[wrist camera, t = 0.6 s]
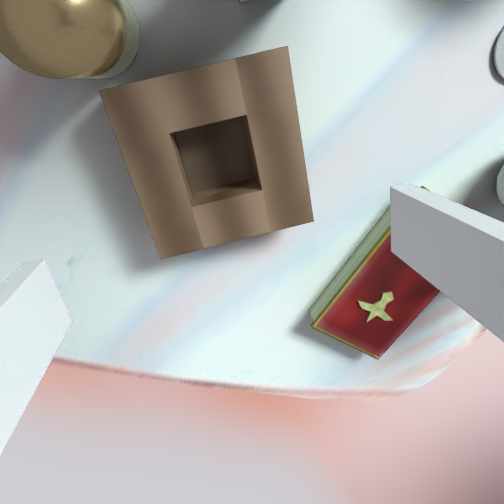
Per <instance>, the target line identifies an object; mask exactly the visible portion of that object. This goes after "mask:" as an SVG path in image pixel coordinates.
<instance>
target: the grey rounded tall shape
mask: <svg viewBox="0 0 504 504" xmlns="http://www.w3.org/2000/svg"><path fill="white" fill-rule="evenodd" d="M496 189H497V194H498V197H499V200H500V202H501V203H502V205H503V206H504V165H503V166H502V168H501V170H500V172H499V174H498V176H497V188H496Z"/></svg>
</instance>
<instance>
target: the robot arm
mask: <svg viewBox="0 0 504 504" xmlns="http://www.w3.org/2000/svg"><path fill="white" fill-rule="evenodd" d="M390 208H391V252H393V253H394V254H395V255H396V256H398V257H399V258H400V259H401V260H403V261H404V262H405V263H406V264H408V265H409V266H410V267H411V268H412V269H414V270H415V271H416V272H417V273H419V274H420V275H421V276H422V277H424V278H425V279H426V280H427V281H429V282H430V283H431V284H432V285H434V286H435V287H436V288H437V289H439V290H440V291H441V292H442V293H443V294H445V295H446V296H447V297H448V298H450V299H451V300H452V301H453V302H455V303H456V304H457V305H458V306H460V307H461V308H462V309H463V310H465V311H466V312H467V313H468V314H470V315H471V316H472V317H473V318H475V319H476V320H477V321H478V322H479V323H481V324H482V325H483V326H484V327H486V328H487V329H488V330H489V331H491V332H492V333H493V334H495V335H496V336H497V337H498V338H499V339H501V340H502V341H503V342H504V222H501V221H499V220H497V219H494V218H492V217H490V216H487V215H485V214H482V213H480V212H478V211H475V210H473V209H470V208H468V207H466V206H463V205H461V204H458V203H456V202H454V201H451V200H449V199H447V198H444V197H442V196H439V195H437V194H435V193H432V192H430V191H427V190H425V189H423V188H420V187H418V186H415V185H413V184H411V183H406V184H401V185H396V186H392V187H390ZM71 323H72V319H71V317H70V315H69V312H68V310H67V308H66V306H65V303H64V301H63V299H62V297H61V294H60V292H59V290H58V288H57V285H56V283H55V281H54V279H53V276H52V274H51V272H50V270H49V267H48V265H47V263H46V261H45V259H41V260H36V261H31V262H27V263H23V264H22V265H21V266H20V267H19V268H18V269H17V270H16V271H15V272H14V273H13V274H12V275H11V276H10V277H9V278H8V279H7V280H6V281H5V282H4V283H3V284H2V285H1V286H0V455H1V453H2V452H3V449H4V448H5V446H6V444H7V442H8V440H9V438H10V437H11V435H12V433H13V431H14V429H15V427H16V425H17V424H18V422H19V420H20V418H21V416H22V414H23V412H24V411H25V409H26V407H27V405H28V403H29V401H30V399H31V397H32V396H33V394H34V392H35V390H36V388H37V386H38V384H39V382H40V381H41V379H42V377H43V375H44V373H45V371H46V369H47V368H48V366H49V364H50V362H51V360H52V358H53V357H54V355H55V353H56V351H57V349H58V347H59V345H60V343H61V342H62V340H63V338H64V336H65V334H66V332H67V330H68V329H69V327H70V325H71Z"/></svg>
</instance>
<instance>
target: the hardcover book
mask: <svg viewBox="0 0 504 504" xmlns="http://www.w3.org/2000/svg"><path fill="white" fill-rule="evenodd" d="M420 188H423V189H425V190H427V191H429V190H428V189H426V188H425V187H424V186H421V187H420ZM439 292H440V290H439V289H437V288H436V287H435V286H434V285H432V284H431V283H430V282H429V281H427V280H426V279H425V278H424V277H422V276H421V275H420V274H419V273H417V272H416V271H415V270H414V269H412V268H411V267H410V266H409V265H408V264H406V263H405V262H404V261H403V260H401V259H400V258H399V257H398V256H396V255H395V254H394V253H393V252H391V208H390V207H389V208H388V210H387V211H386V212H385V213H384V215H383V216H382V217H381V219H380V220H379V221H378V222H377V224H376V225H375V226H374V228H373V229H372V230H371V231H370V233H369V234H368V235H367V236H366V238H365V239H364V240H363V242H362V243H361V244H360V245H359V247H358V248H357V249H356V251H355V252H354V253H353V254H352V256H351V257H350V258H349V260H348V261H347V262H346V263H345V265H344V266H343V267H342V269H341V270H340V271H339V272H338V274H337V275H336V276H335V277H334V279H333V280H332V281H331V283H330V284H329V285H328V286H327V288H326V289H325V290H324V292H323V293H322V294H321V295H320V297H319V298H318V299H317V301H316V302H315V303H314V304H313V306H312V307H311V308H310V309H309V313H310V315H311V317H312V319H313V321H314V322H313V323H312V324H311V327H312V328H314V329H316V330H318V331H320V332H322V333H324V334H326V335H328V336H330V337H333V338H335V339H337V340H339V341H341V342H343V343H345V344H347V345H349V346H351V347H353V348H355V349H357V350H359V351H361V352H363V353H365V354H368V355H370V356H372V357H374V358H376V359H379V358H380V357H381V356H382V355H383V354H384V353H385V352H386V351H387V349H388V348H389V347H390V346H391V345H392V344H393V343H394V342H395V341H396V339H397V338H398V337H399V336H400V335H401V334H402V333H403V332H404V331H405V329H406V328H407V327H408V326H409V325H410V324H411V323H412V322H413V321H414V320H415V318H416V317H417V316H418V315H419V314H420V313H421V312H422V311H423V310H424V308H425V307H426V306H427V305H428V304H429V303H430V302H431V301H432V300H433V298H434V297H435V296H436V295H437V294H438V293H439Z"/></svg>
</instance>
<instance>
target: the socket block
mask: <svg viewBox="0 0 504 504" xmlns="http://www.w3.org/2000/svg"><path fill="white" fill-rule="evenodd" d="M99 92H100V95H101V98H102V100H103V103H104V106H105V109H106V111H107V114H108V117H109V120H110V122H111V125H112V128H113V131H114V133H115V136H116V139H117V141H118V144H119V147H120V150H121V152H122V155H123V158H124V161H125V163H126V166H127V169H128V172H129V174H130V177H131V180H132V183H133V185H134V188H135V191H136V193H137V196H138V199H139V202H140V204H141V207H142V210H143V213H144V215H145V218H146V221H147V224H148V226H149V229H150V232H151V235H152V237H153V240H154V243H155V246H156V248H157V251H158V254H159V256H160V259H164V258H168V257H173V256H177V255H181V254H185V253H189V252H193V251H197V250H201V249H205V248H209V247H213V246H217V245H221V244H225V243H229V242H233V241H237V240H241V239H245V238H249V237H253V236H257V235H261V234H265V233H269V232H273V231H277V230H281V229H285V228H289V227H293V226H297V225H301V224H305V223H309V222H313V221H314V219H313V212H312V206H311V199H310V192H309V186H308V179H307V172H306V166H305V159H304V152H303V145H302V139H301V132H300V125H299V119H298V112H297V105H296V99H295V92H294V85H293V79H292V72H291V65H290V58H289V52H288V46H285V47H280V48H276V49H272V50H268V51H263V52H259V53H255V54H251V55H247V56H242V57H238V58H234V59H230V60H226V61H221V62H217V63H213V64H209V65H205V66H200V67H196V68H192V69H188V70H184V71H179V72H175V73H171V74H167V75H163V76H158V77H154V78H150V79H146V80H142V81H137V82H133V83H129V84H125V85H121V86H116V87H112V88H108V89H104V90H100V91H99Z"/></svg>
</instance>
